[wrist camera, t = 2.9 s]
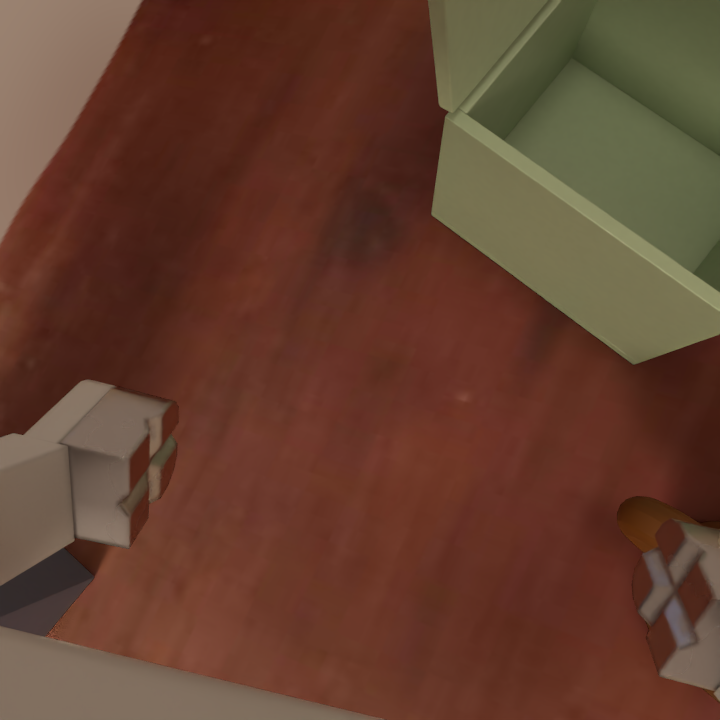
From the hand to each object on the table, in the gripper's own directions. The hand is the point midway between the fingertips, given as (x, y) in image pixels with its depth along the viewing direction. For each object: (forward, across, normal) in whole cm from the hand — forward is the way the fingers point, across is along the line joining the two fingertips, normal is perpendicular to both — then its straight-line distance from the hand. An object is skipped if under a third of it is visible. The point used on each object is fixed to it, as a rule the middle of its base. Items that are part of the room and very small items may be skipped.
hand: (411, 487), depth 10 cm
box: (+26, -9, 0) cm, 27 cm away
